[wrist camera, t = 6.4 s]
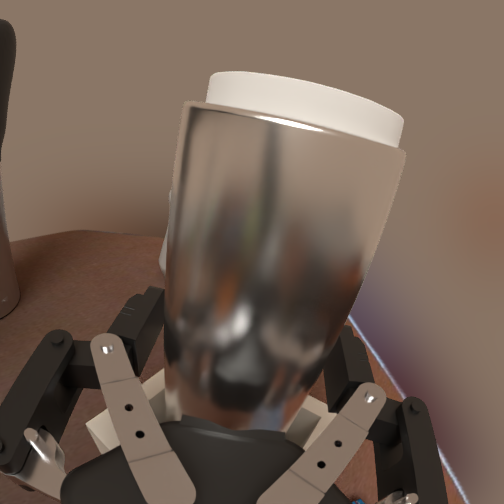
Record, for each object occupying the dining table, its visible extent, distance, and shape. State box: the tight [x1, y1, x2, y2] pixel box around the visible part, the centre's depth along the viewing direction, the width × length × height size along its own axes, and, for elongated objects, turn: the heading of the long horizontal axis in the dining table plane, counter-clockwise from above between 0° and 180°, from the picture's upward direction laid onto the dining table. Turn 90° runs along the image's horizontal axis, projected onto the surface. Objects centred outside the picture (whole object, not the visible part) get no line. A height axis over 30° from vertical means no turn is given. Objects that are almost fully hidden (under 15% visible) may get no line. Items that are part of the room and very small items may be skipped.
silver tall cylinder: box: [164, 72, 406, 435], centre depth 13 cm, size 6×6×25 cm
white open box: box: [86, 369, 337, 454], centre depth 17 cm, size 11×11×8 cm
